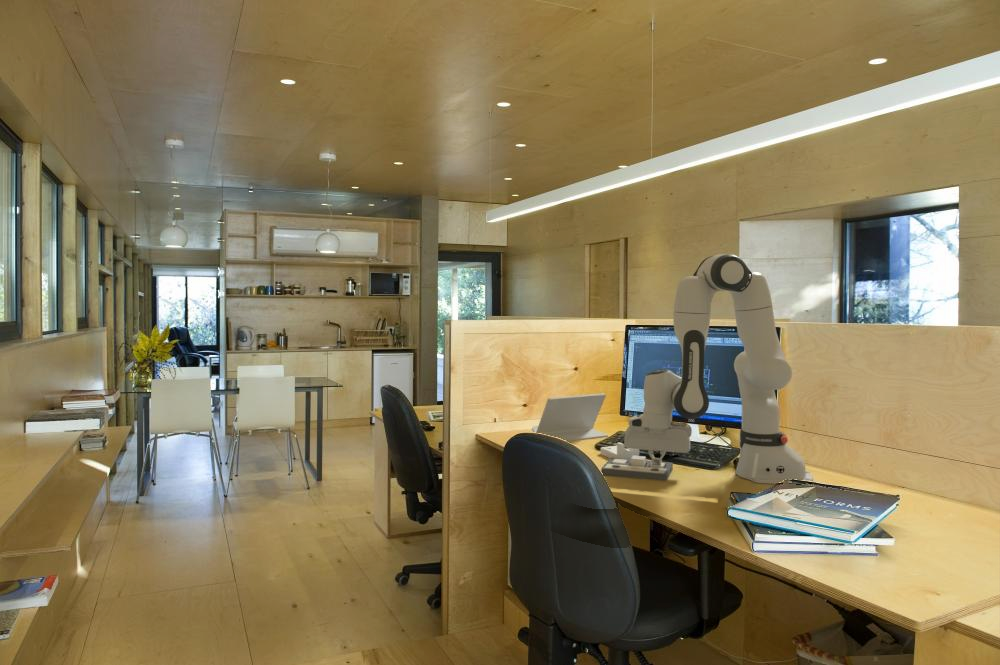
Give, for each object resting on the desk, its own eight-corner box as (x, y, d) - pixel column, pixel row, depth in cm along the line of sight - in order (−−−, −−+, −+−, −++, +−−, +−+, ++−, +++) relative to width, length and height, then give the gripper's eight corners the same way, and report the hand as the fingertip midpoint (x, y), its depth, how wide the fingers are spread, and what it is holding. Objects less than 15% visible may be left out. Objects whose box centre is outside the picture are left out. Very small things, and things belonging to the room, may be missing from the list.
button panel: (672, 471, 226) (672, 461, 226) (666, 484, 213) (666, 473, 213) (611, 466, 234) (611, 456, 233) (601, 477, 221) (601, 467, 220)
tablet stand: (609, 437, 275) (609, 394, 274) (551, 443, 266) (551, 399, 264) (586, 428, 292) (586, 387, 291) (531, 433, 283) (530, 391, 281)
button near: (664, 470, 224) (664, 463, 224) (662, 474, 220) (663, 466, 220) (652, 469, 225) (652, 461, 225) (650, 473, 222) (650, 465, 221)
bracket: (639, 464, 237) (639, 442, 236) (621, 466, 234) (621, 444, 233) (617, 455, 249) (617, 434, 248) (600, 457, 246) (600, 436, 245)
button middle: (645, 464, 226) (645, 456, 226) (643, 467, 222) (643, 459, 222) (633, 463, 227) (633, 455, 227) (630, 466, 224) (630, 458, 223)
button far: (627, 467, 228) (627, 459, 228) (624, 470, 224) (624, 463, 224) (614, 466, 230) (614, 458, 229) (612, 469, 226) (612, 461, 226)
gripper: (692, 421, 220) (691, 464, 222) (627, 416, 228) (626, 458, 229) (690, 425, 215) (689, 469, 216) (623, 420, 222) (623, 463, 223)
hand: (656, 464), depth 222 cm, fingers closed, pressing on button near
